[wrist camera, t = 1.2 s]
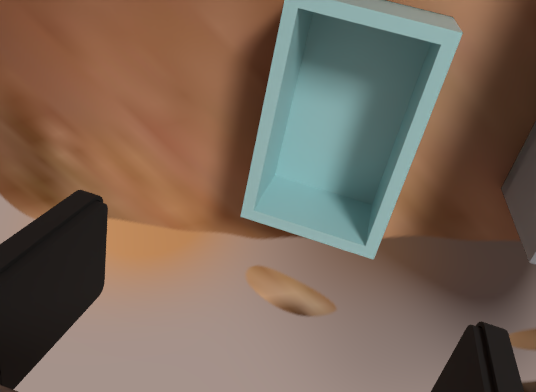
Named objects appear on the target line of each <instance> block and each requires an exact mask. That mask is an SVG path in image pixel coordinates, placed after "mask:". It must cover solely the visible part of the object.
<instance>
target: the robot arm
mask: <svg viewBox="0 0 536 392" xmlns="http://www.w3.org/2000/svg"><path fill="white" fill-rule="evenodd" d="M107 213H108V208H107V205H106V204H105V203H103V199H102V197H100V196H98V195H95V194H92V193H89V192H86V191H83V190H78V191H76V192H74V193H73V194H71V195H70V196H69V197H67V198H66V199H64V200H63V201H61V202H60V203H59V204H57V205H56V206H54V207H53V208H51V209H50V210H49V211H47V212H46V213H44V214H43V215H41V216H40V217H39V218H37V219H36V220H34V221H33V222H31V223H30V224H29V225H27V226H26V227H24V228H23V229H21V230H20V231H19V232H17V233H16V234H14V235H13V236H12V237H10V238H9V239H7V240H6V241H4V242H3V243H2V244H0V392H18V391H15V390H13V389H14V388H15V387H16V386H17V385H18V384H19V383H20V382H21V381H22V380H23V378H24V377H25V376H26V375H27V374H28V373H29V372H30V371H31V370H32V369H33V367H34V366H35V365H36V364H37V363H38V362H39V361H40V360H41V359H42V358H43V357H44V355H45V354H46V353H47V352H48V351H49V350H50V349H51V348H52V347H53V346H54V344H55V343H56V342H57V341H58V340H59V339H60V338H61V337H62V336H63V335H64V334H65V332H66V331H67V330H68V329H69V328H70V327H71V326H72V325H73V324H74V323H75V321H77V319H78V318H79V317H80V316H81V315H82V314H83V313H84V312H85V311H86V309H88V307H89V306H90V305H91V304H92V303H93V302H94V301H95V300H96V299H97V297H98V296H99V295H100V294H101V292H102V290H103V286H104V279H105V257H106V234H107ZM431 392H524V390H523V386H522V383H521V379H520V375H519V371H518V368H517V364H516V361H515V357H514V353H513V349H512V346H511V342H510V338H509V334H508V332H507V331H506V330H505V329H502V328H499V327H496V326H493V325H490V324H487V323H484V322H479V323H478V324H477V325H476V326H474V325H469V326H468V327H467V328H466V330H465V332H464V334H463V335H462V337H461V339H460V341H459V342H458V344H457V346H456V348H455V350H454V351H453V353H452V355H451V357H450V359H449V360H448V362H447V364H446V366H445V367H444V369H443V371H442V373H441V375H440V376H439V378H438V380H437V382H436V384H435V385H434V387H433V389H432V391H431Z"/></svg>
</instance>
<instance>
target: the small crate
mask: <svg viewBox="0 0 536 392" xmlns="http://www.w3.org/2000/svg"><path fill="white" fill-rule="evenodd" d="M462 34H463V32H462V31H461V29H460V28H459V26H458V24H457V23H456V21H455V20H454V18H453V17H450V16H446V15H442V14H438V13H434V12H430V11H426V10H422V9H418V8H414V7H410V6H406V5H402V4H398V3H394V2H390V1H386V0H284V5H283V10H282V15H281V20H280V25H279V30H278V35H277V40H276V45H275V50H274V54H273V59H272V64H271V69H270V74H269V79H268V84H267V89H266V94H265V99H264V103H263V108H262V113H261V118H260V123H259V128H258V133H257V138H256V143H255V148H254V153H253V157H252V162H251V167H250V172H249V177H248V182H247V187H246V192H245V197H244V202H243V206H242V211H241V216H240V217H243V218H246V219H249V220H252V221H255V222H259V223H262V224H265V225H268V226H271V227H274V228H277V229H280V230H283V231H286V232H290V233H293V234H296V235H299V236H302V237H305V238H308V239H311V240H314V241H318V242H321V243H324V244H327V245H330V246H333V247H336V248H339V249H342V250H345V251H349V252H352V253H355V254H358V255H361V256H364V257H367V258H370V259H374V257H375V255H376V252H377V250H378V247H379V245H380V242H381V240H382V237H383V235H384V232H385V229H386V227H387V224H388V222H389V219H390V217H391V214H392V212H393V209H394V207H395V204H396V202H397V199H398V196H399V194H400V191H401V189H402V186H403V184H404V181H405V179H406V176H407V174H408V171H409V168H410V166H411V163H412V161H413V158H414V156H415V153H416V151H417V148H418V146H419V143H420V141H421V138H422V135H423V133H424V130H425V128H426V125H427V123H428V120H429V118H430V115H431V113H432V110H433V107H434V105H435V102H436V100H437V97H438V95H439V92H440V90H441V87H442V85H443V82H444V80H445V77H446V74H447V72H448V69H449V67H450V64H451V62H452V59H453V57H454V54H455V52H456V49H457V47H458V44H459V41H460V39H461V36H462Z"/></svg>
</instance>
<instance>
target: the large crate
mask: <svg viewBox="0 0 536 392" xmlns="http://www.w3.org/2000/svg"><path fill="white" fill-rule="evenodd" d="M501 190H502V192H503V195H504V197H505V200H506V203H507V205H508V208H509V211H510V213H511V216H512V219H513V221H514V224H515V226H516V229H517V232H518V234H519V237H520V240H521V242H522V245H523V247H524V250H525V253H526V255H527V258H528V261H529V263H532V264H535V265H536V122H535V124H534V125H533V127H532V129H531V131H530V133H529V135H528V137H527V139H526V141H525V143H524V145H523V147H522V149H521V151H520V153H519V155H518V157H517V158H516V160H515V162H514V164H513V166H512V168H511V170H510V172H509V174H508V176H507V178H506V180H505V182H504V184H503V186H502V188H501Z"/></svg>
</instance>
